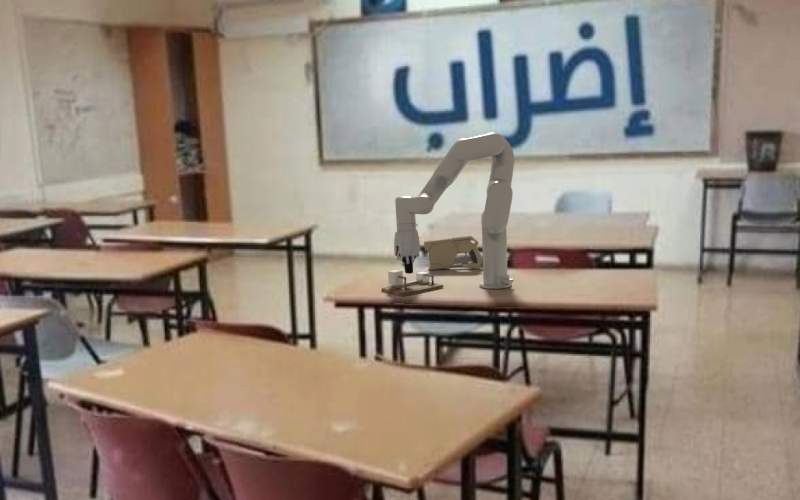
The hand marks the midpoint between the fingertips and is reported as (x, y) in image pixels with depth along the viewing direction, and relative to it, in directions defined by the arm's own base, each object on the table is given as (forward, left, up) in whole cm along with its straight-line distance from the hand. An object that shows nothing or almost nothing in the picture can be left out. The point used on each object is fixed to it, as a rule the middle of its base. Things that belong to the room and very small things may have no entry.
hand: (409, 272), depth 316 cm
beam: (-2, 0, -5) cm, 5 cm away
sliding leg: (-2, +7, -4) cm, 8 cm away
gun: (+15, -37, -7) cm, 41 cm away
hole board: (-3, +1, -6) cm, 7 cm away
